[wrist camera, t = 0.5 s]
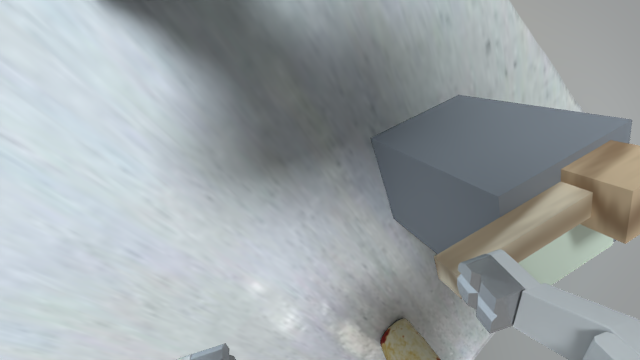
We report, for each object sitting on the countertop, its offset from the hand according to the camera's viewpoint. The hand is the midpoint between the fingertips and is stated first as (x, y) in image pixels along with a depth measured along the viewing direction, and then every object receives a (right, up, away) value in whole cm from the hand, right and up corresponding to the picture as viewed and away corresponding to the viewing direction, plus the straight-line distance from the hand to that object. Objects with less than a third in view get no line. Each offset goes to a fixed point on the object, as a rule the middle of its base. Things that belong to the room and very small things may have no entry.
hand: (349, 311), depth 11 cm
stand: (+18, +8, +47) cm, 51 cm away
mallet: (+21, +1, +22) cm, 30 cm away
